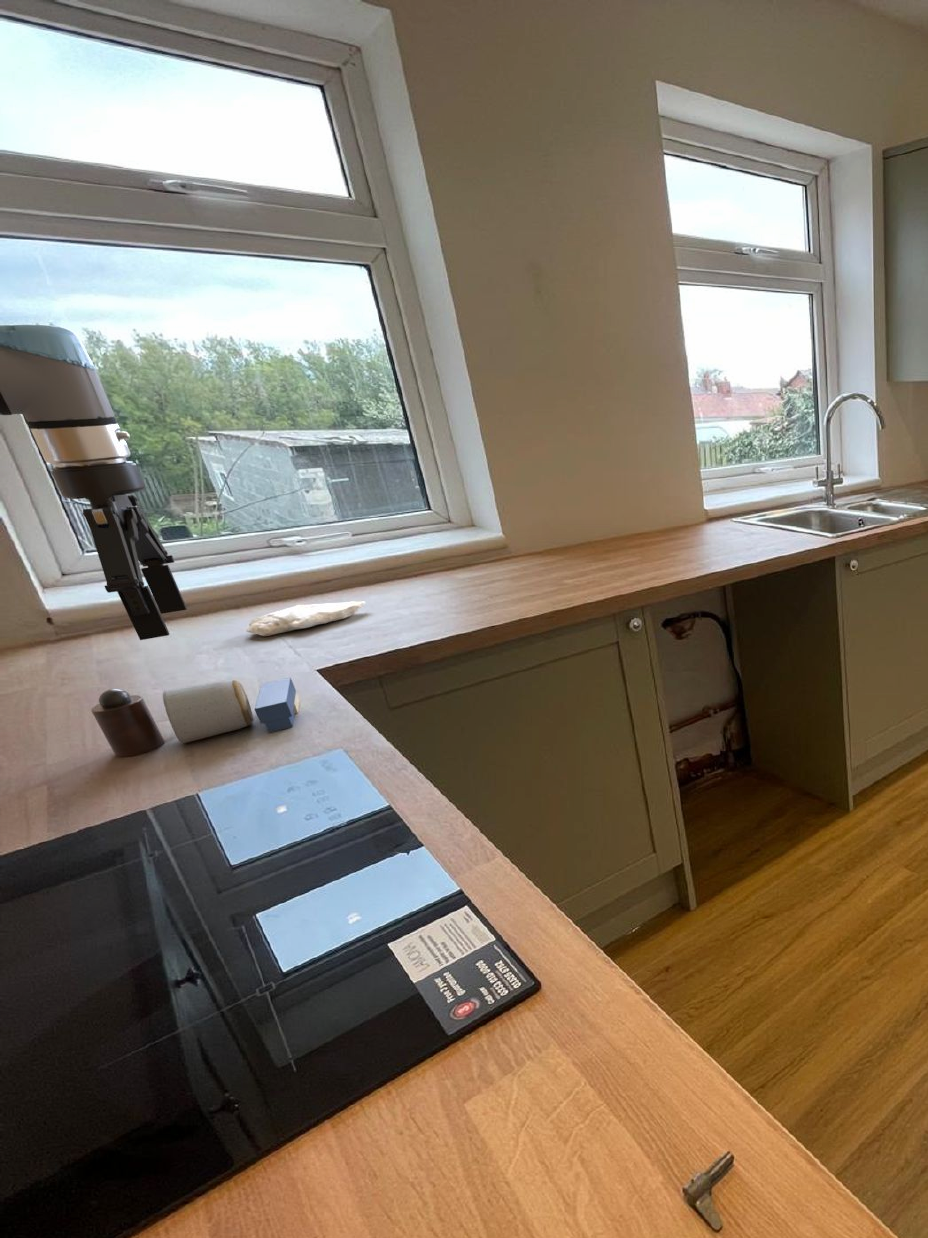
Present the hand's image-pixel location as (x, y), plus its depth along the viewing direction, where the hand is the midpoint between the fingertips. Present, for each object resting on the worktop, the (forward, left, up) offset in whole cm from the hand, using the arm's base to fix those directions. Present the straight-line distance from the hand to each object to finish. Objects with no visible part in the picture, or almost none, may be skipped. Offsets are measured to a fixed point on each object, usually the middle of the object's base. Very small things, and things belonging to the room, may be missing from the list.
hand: (165, 623), depth 97 cm
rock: (+10, +50, -17) cm, 54 cm away
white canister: (0, 0, -17) cm, 17 cm away
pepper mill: (-8, 0, -17) cm, 18 cm away
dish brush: (+8, -1, -17) cm, 18 cm away
